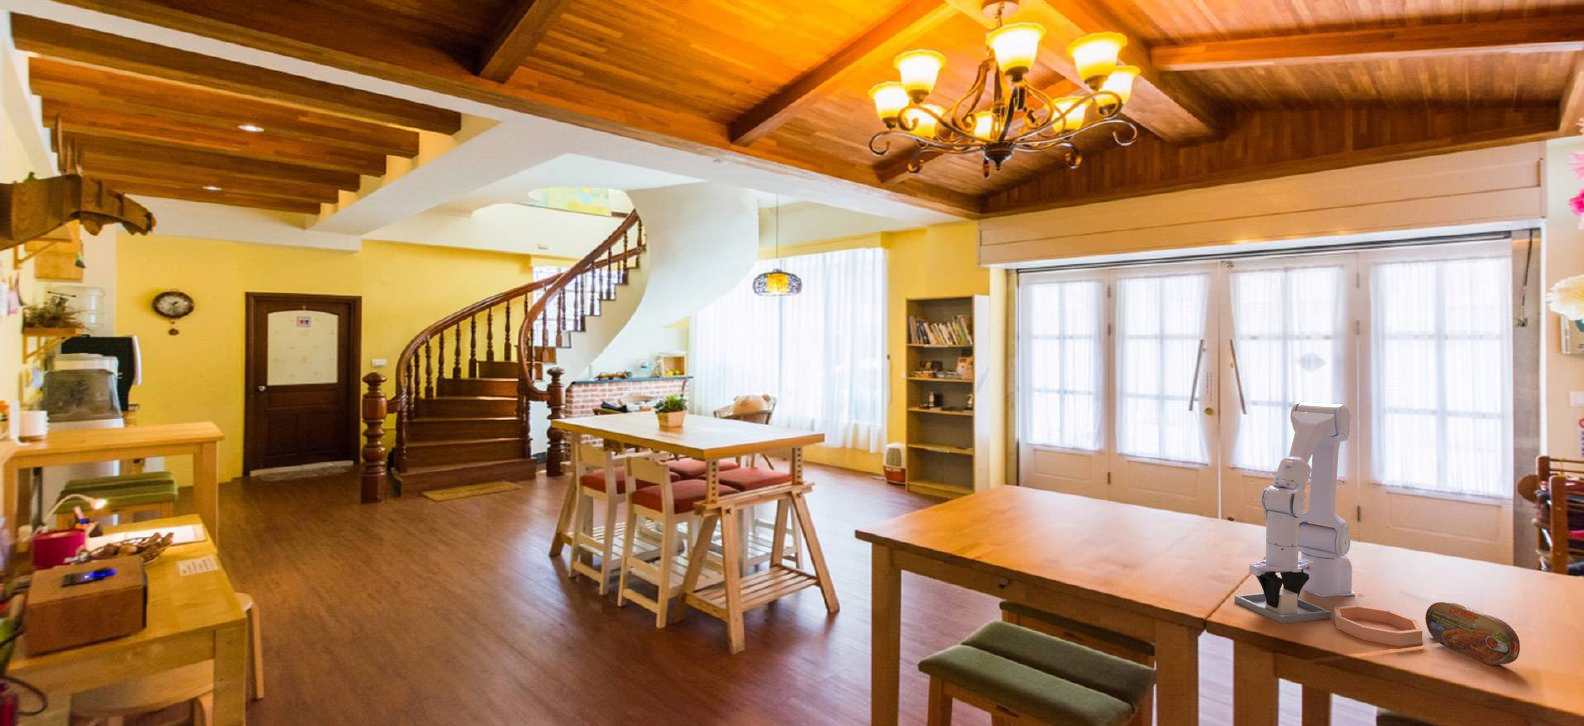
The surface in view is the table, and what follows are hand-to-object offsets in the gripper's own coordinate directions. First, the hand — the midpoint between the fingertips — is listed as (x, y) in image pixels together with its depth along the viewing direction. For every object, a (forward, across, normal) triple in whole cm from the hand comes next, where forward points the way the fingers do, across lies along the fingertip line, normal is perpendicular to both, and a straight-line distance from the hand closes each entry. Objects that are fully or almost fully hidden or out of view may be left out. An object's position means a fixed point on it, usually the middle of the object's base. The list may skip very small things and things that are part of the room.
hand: (1281, 605), depth 151 cm
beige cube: (+1, 0, 0) cm, 1 cm away
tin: (+2, +17, -24) cm, 29 cm away
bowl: (+2, +9, -13) cm, 16 cm away
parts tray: (+2, 0, 0) cm, 2 cm away
